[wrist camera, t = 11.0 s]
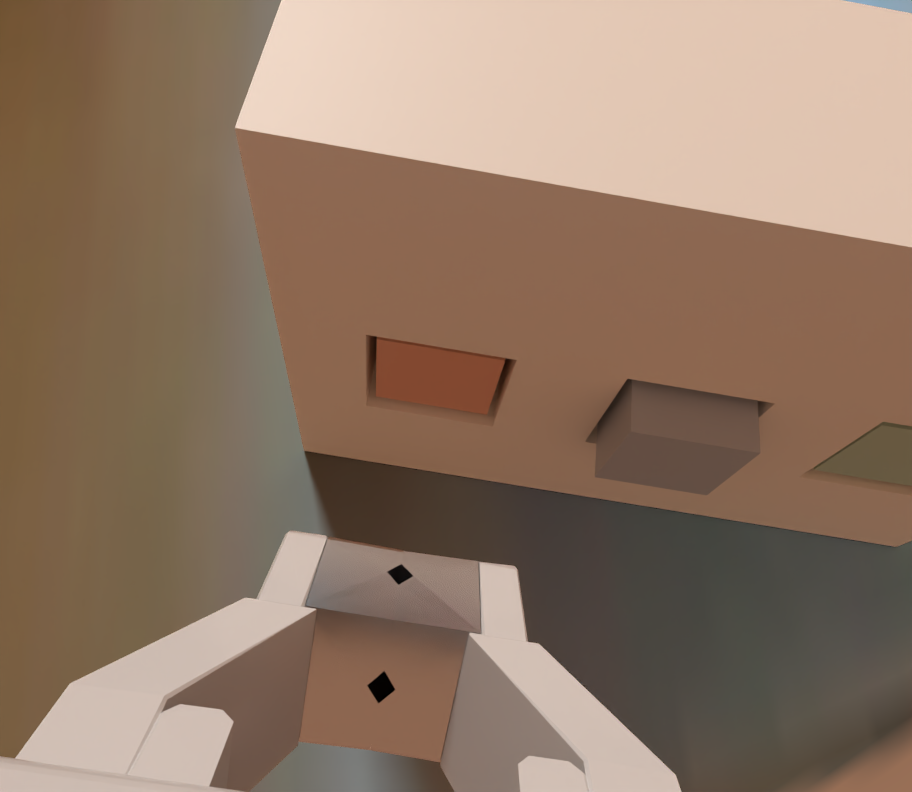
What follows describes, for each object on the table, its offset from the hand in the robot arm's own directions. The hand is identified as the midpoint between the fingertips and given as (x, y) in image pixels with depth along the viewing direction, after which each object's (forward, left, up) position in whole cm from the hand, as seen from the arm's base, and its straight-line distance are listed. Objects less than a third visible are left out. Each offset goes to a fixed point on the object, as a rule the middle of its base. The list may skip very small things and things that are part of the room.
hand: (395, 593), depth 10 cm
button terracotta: (+3, +10, -14) cm, 18 cm away
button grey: (+10, +7, -14) cm, 18 cm away
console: (+11, +10, -20) cm, 25 cm away
